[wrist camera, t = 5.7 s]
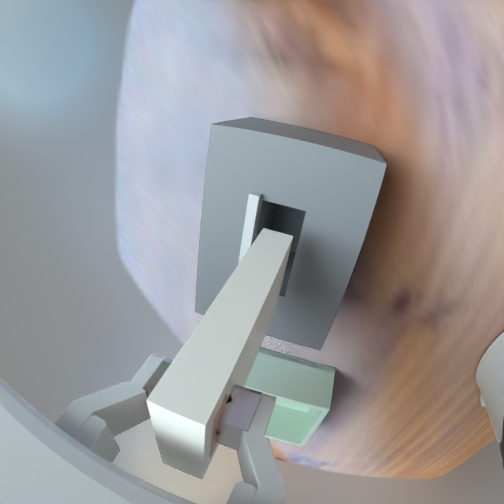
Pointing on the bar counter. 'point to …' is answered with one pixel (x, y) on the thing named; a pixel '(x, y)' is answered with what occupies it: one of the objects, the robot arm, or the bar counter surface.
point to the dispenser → (287, 215)
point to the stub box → (292, 394)
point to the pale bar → (217, 357)
